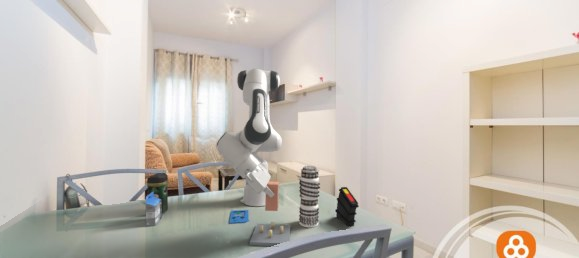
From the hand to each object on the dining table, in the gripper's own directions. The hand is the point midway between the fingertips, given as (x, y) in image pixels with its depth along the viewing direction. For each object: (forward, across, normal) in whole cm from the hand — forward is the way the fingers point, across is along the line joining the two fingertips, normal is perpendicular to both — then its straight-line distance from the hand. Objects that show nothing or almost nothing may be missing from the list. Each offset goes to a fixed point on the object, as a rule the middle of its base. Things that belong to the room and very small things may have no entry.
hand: (273, 193), depth 94 cm
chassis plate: (+11, 0, +12) cm, 16 cm away
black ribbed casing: (+34, +16, -10) cm, 39 cm away
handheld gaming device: (0, +18, +24) cm, 30 cm away
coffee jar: (-29, +20, +52) cm, 63 cm away
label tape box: (-25, +9, +49) cm, 56 cm away
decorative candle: (+22, +13, +2) cm, 26 cm away
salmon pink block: (+4, 0, +5) cm, 6 cm away
